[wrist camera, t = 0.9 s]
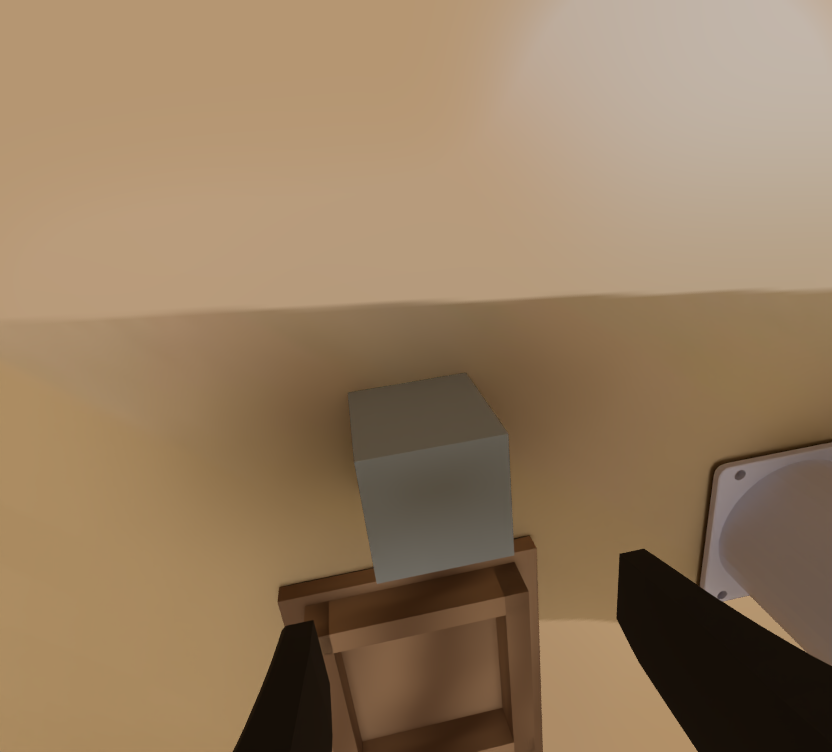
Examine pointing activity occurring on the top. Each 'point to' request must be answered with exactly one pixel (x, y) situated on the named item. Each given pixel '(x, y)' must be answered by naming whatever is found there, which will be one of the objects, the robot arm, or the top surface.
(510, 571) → the slot rack
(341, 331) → the top surface
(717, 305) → the top surface
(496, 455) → the slate block
